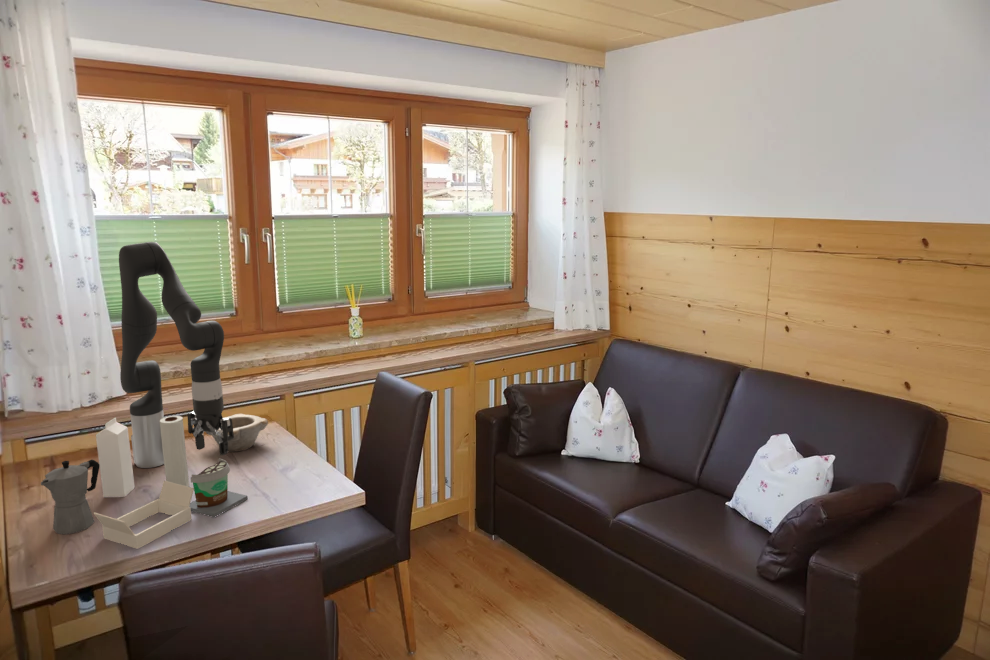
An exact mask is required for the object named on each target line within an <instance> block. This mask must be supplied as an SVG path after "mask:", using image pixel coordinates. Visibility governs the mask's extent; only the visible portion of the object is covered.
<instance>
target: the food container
mask: <svg viewBox="0 0 990 660" xmlns="http://www.w3.org/2000/svg"><path fill="white" fill-rule="evenodd" d="M230 471H231V467H230V465H229V463H228V461H227V460H225V459H223V458H218V462H217V463H214V464H213V465H211V466H208V467H205V468H204V469H203V470H201V472H199V473H198V474H191V477H190V483H192V485H193V487H192V488H194V491H193V493H194V497H195V500H196V503H197V507H199V508H207V507H213V506H216V505H219V504H221V503H223V502H225V501H226V500H227V497H228V491H229V490H228V489H229V488H228V485H229V484H228V482H229V481H228V479H229V478H228V475H229V474H230Z"/></svg>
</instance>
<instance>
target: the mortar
mask: <svg viewBox="0 0 990 660" xmlns="http://www.w3.org/2000/svg"><path fill="white" fill-rule="evenodd" d="M223 418H224V419H228V418H231V419H232V425H233V433H234V438H233V439H231V440H229V441H228V452H233V453H234V452H242V451H245V450H248V449H251V447H253V446H254V444H255V443H256V440H257V439H258V436H259V434H260V432H261V431H263V430H265V428H267V426H268V424H269V421H268V419H267V418H264V417H260V416H258V415H253V414H244V413H236V414H232V415H229V416H225V417H223ZM220 430H221V429H220V428H219V429H218V430H217V431H220ZM204 433H206V434H207V435H208V436H212V437H213V439H214V440H215V442H216V444H217V445H218V446H219V440H218V439H217V437H216V436H214V435H213V433H211V432H209V431H204ZM220 435H221V436H222V438H223V435H222V434H220ZM228 436H229V432H228Z"/></svg>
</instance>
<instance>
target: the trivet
mask: <svg viewBox="0 0 990 660" xmlns="http://www.w3.org/2000/svg"><path fill="white" fill-rule="evenodd" d="M248 498H249V497H248V495H246V494H242V493H239V492H234V491H231V490H228V497H227V500H226V501H225V502H223V503H221V504H219V505H216V506H213V507H207V508H199V507H197V503H196V499H195V500H194V501H191V502H190V506H189V507H190V508H191V512H192V511H193V512H192V513H196V512H197V514H200V513H201V514H200V515H203V514H205V515H204V516H207V515H209V516H208V517H210V516H212V517H211V518H216V517H218V516H220V515H221V514H223V513H225V512H226V510H227V511H228V509H229V510H231V509H232V508H234V507H236V506H238V505H239V504H241V503H242V502H245V501H246V500H248ZM237 504H238V505H237ZM235 505H236V506H235ZM233 506H234V507H233ZM224 511H225V512H224ZM222 512H223V513H222ZM219 514H220V515H219ZM217 515H218V516H217ZM215 516H216V517H215Z"/></svg>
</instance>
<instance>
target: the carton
mask: <svg viewBox="0 0 990 660" xmlns="http://www.w3.org/2000/svg"><path fill="white" fill-rule="evenodd" d="M193 494H194V487H192V486H191V487H190V486H189V487H187V486H183V485H179V484H176V483H172V482H168V481H166V480H163V481H162V486H161V490H160V494H159V498H157V499H154V500H153V501H150V502H148V503H146V504H144V505H142V506H140V507H138V508H136V509H133V510H132V511H129V512H128V513H125V514H123V515H121V516H119V517H117V518H115V517H111V516H108V515H105V514H101V513H98V512H95V511H94V512H93V515H94V516H95V518H97V520H98V521H99V522H100V524H101V527H102V535H103V536H102V537H103V539H105V540H108V541H110V542H115V543H117V544H120V543H121V544H120V545H123V544H124V545H123V546H126V545H127V547H129V548H133V549H137V550H138V549H140V548H142V547H144V546H146V545H148V544H150V543H151V542H153V541H155V540H157V539H159V538H160V537H161V538H162V537H163V536H164V535H166V534H169V533H170V532H172V531H173V529H174V530H175V528H176V529H177V527H178V528H179V527H181V526H182V524H183V525H185V524H186V522H187V523H189V522H191V521H192V519H193V518H192V511H191V508H190V507H189V506H190V503H191V502H192V497H193ZM158 513H162V514H164V513H165V515H169V516H168V517H167V518H165V519H163V520H162V521H159V522H157V523H155V524H154V525H152V526H151V525H150V527H148V528H146V529H144V530H142V531H140V532H138V533H134V531H133V530H132V529H131V527H132V526H134V525H136V524H138V523H140V522H142V521H144V520H146V519H148V518H150V517H152V516H154V515H156V514H158ZM151 515H152V516H151ZM171 515H172V516H171ZM149 516H150V517H149ZM147 517H148V518H147ZM145 518H146V519H145ZM143 519H144V520H143ZM190 520H191V521H190ZM188 521H189V522H188ZM171 530H172V531H171Z"/></svg>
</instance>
